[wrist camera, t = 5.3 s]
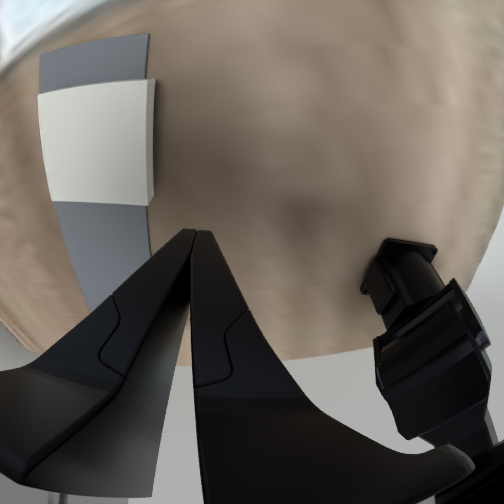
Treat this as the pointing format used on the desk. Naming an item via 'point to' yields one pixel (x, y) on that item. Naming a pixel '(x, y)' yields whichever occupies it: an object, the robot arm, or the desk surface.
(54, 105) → the glazed tile
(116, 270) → the rubber mat
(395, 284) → the robot arm
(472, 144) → the desk surface
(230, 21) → the desk surface
